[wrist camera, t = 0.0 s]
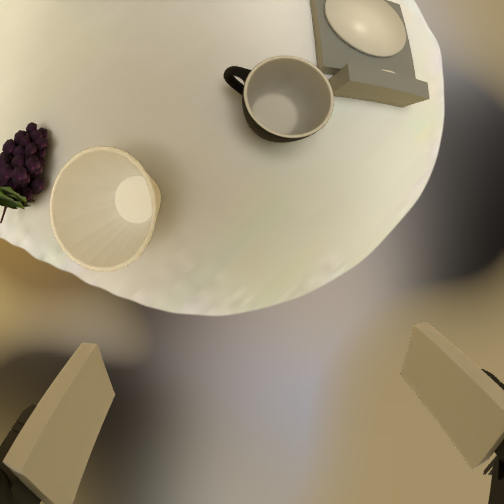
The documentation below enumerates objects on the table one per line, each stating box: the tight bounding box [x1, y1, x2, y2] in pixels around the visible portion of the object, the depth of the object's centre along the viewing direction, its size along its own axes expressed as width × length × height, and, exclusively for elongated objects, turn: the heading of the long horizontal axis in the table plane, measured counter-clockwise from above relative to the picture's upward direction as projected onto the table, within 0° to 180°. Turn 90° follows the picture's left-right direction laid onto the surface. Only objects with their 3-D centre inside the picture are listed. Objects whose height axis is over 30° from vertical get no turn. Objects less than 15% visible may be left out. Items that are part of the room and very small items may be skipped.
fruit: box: [0, 122, 48, 223], centre depth 28 cm, size 10×11×15 cm
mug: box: [224, 56, 334, 142], centre depth 29 cm, size 12×9×10 cm
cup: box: [49, 146, 161, 271], centre depth 29 cm, size 12×12×12 cm
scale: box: [310, 0, 429, 107], centre depth 28 cm, size 19×15×7 cm
